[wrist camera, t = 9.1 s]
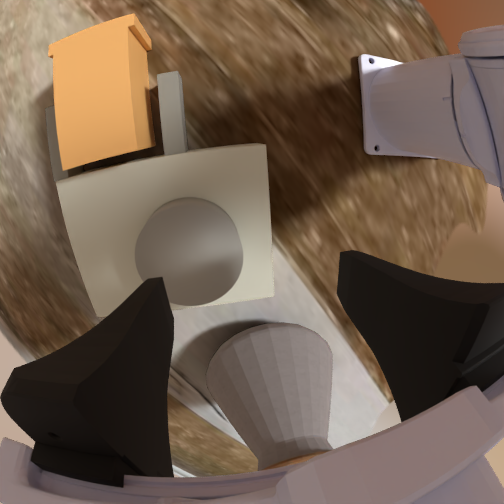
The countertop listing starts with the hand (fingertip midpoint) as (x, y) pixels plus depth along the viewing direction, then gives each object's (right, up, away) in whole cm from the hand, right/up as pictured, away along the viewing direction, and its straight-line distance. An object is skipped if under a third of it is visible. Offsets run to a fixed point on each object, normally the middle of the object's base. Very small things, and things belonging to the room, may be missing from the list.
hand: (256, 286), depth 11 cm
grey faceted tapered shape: (+4, -12, +17) cm, 21 cm away
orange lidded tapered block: (-9, +11, +4) cm, 15 cm away
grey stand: (-6, +5, +7) cm, 11 cm away
